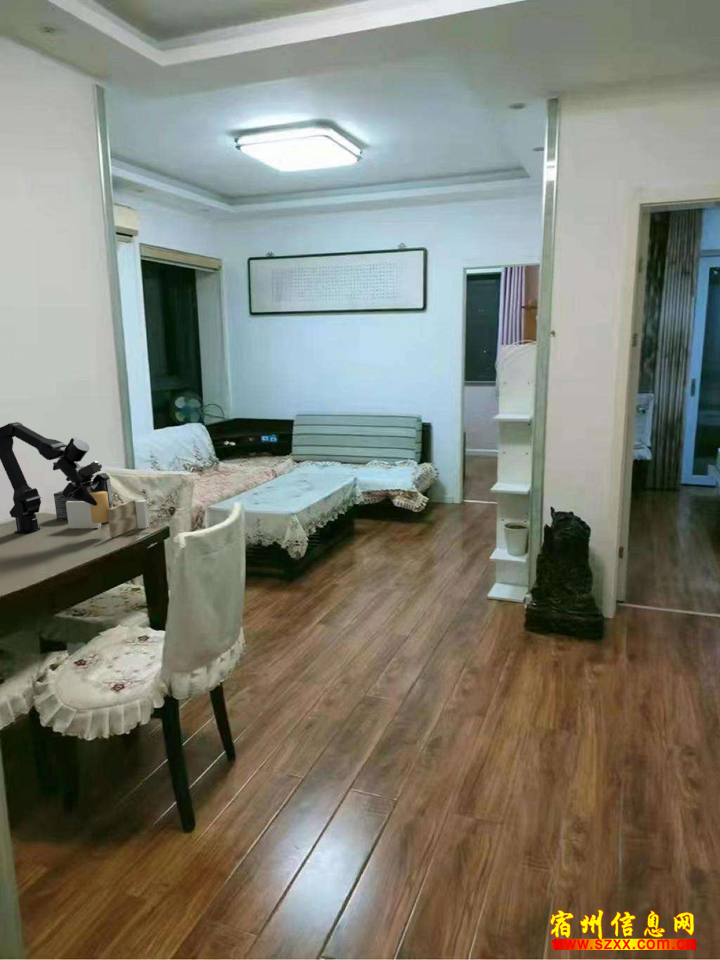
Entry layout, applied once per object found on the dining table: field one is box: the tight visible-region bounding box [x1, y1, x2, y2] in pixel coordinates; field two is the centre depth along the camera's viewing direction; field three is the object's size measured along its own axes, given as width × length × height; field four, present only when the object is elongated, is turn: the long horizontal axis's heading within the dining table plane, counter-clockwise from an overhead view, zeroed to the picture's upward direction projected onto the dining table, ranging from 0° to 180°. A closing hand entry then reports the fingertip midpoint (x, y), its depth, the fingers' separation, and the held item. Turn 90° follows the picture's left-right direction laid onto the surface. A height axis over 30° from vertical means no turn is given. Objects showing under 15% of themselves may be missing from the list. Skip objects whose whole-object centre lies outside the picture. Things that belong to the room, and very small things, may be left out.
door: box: [107, 499, 138, 538], centre depth 238 cm, size 14×2×10 cm, turn 163°
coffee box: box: [87, 477, 114, 523], centre depth 255 cm, size 9×6×16 cm
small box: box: [53, 490, 81, 521], centre depth 263 cm, size 11×6×10 cm, turn 84°
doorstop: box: [90, 491, 109, 524], centre depth 233 cm, size 6×6×10 cm
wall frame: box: [66, 499, 150, 529], centre depth 246 cm, size 30×2×10 cm, turn 83°
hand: (102, 502), depth 233 cm, fingers closed on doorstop, 6 cm apart
